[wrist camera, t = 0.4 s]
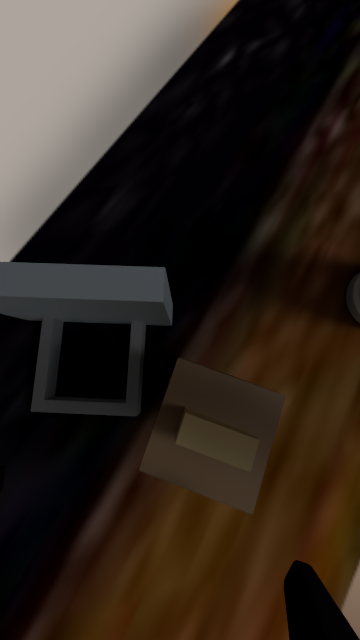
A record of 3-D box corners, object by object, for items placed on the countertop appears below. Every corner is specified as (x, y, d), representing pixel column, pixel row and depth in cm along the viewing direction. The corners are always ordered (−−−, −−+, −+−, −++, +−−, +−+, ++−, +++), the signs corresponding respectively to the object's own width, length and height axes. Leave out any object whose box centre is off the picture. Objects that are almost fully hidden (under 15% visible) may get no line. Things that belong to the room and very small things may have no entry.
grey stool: (167, 412, 22) (154, 457, 12) (15, 405, 22) (-117, 444, 12) (172, 305, 24) (165, 267, 14) (30, 300, 24) (-77, 259, 14)
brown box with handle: (215, 429, 22) (262, 536, 9) (162, 409, 22) (133, 485, 9) (231, 375, 23) (298, 400, 9) (181, 357, 23) (177, 357, 10)
